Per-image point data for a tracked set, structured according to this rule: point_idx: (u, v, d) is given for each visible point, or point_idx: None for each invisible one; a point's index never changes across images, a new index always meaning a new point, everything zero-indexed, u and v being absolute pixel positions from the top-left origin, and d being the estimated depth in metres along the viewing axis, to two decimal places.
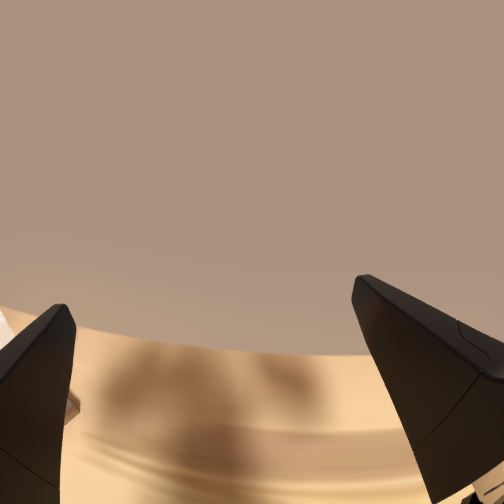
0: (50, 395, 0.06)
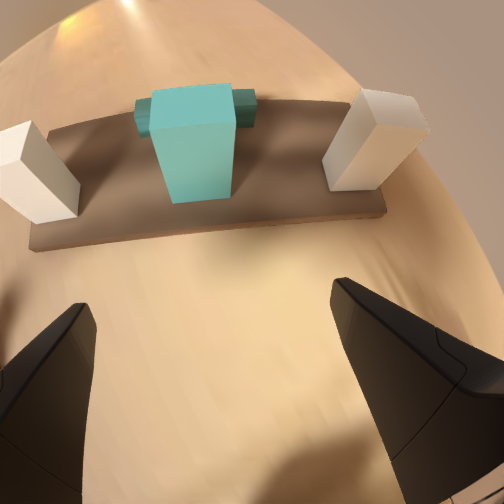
0: (73, 397, 0.06)
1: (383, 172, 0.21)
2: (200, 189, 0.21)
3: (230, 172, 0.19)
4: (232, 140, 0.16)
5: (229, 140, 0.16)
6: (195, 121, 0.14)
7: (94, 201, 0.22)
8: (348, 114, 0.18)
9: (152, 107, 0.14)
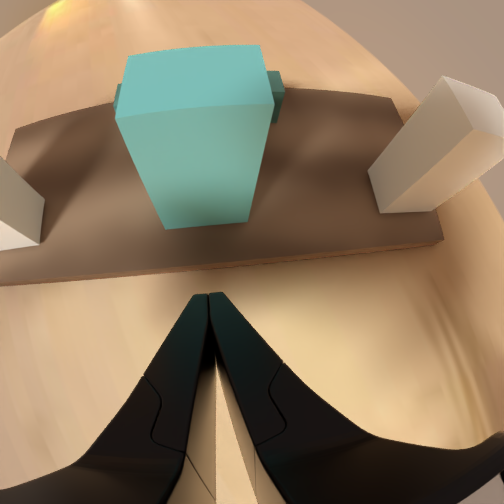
0: (211, 396, 0.06)
1: (450, 191, 0.15)
2: (204, 212, 0.14)
3: (252, 188, 0.13)
4: (262, 138, 0.09)
5: (258, 138, 0.09)
6: (199, 101, 0.07)
7: (60, 222, 0.15)
8: (418, 111, 0.12)
9: (125, 80, 0.07)
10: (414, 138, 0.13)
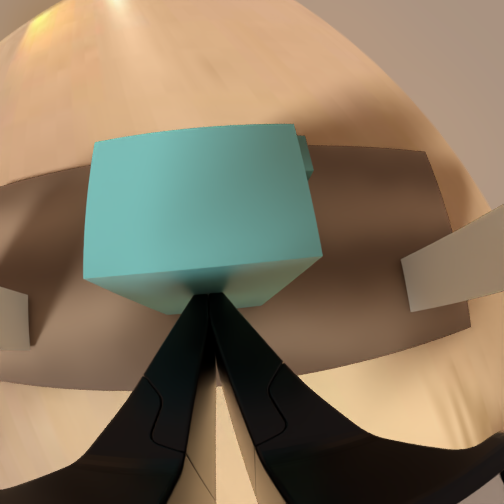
0: (211, 396, 0.06)
1: None
2: None
3: (272, 295, 0.10)
4: (295, 274, 0.07)
5: (289, 275, 0.07)
6: (207, 255, 0.05)
7: (50, 325, 0.13)
8: (480, 222, 0.09)
9: (91, 196, 0.05)
10: (468, 252, 0.10)
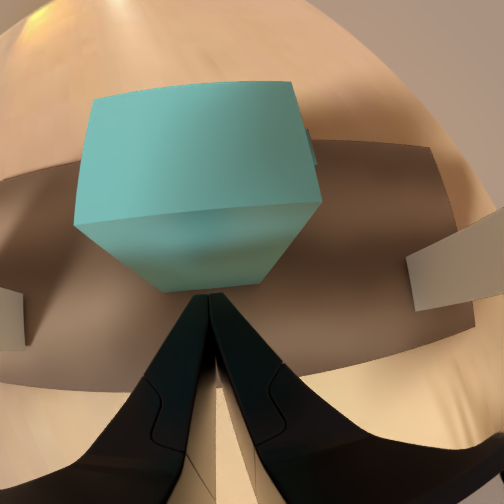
0: (211, 396, 0.06)
1: None
2: (210, 282, 0.12)
3: (270, 265, 0.10)
4: (294, 231, 0.07)
5: (289, 232, 0.07)
6: (203, 198, 0.05)
7: (45, 325, 0.12)
8: (489, 219, 0.09)
9: (87, 147, 0.05)
10: (476, 251, 0.10)
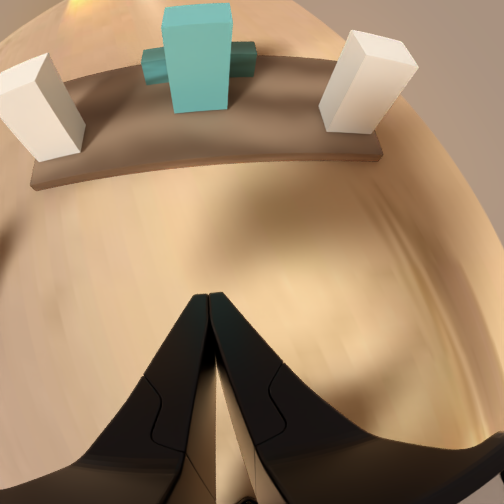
0: (211, 396, 0.06)
1: (377, 112, 0.21)
2: (200, 97, 0.21)
3: (227, 77, 0.19)
4: (229, 41, 0.16)
5: (227, 41, 0.16)
6: (199, 22, 0.14)
7: (98, 138, 0.22)
8: (341, 55, 0.18)
9: (164, 16, 0.14)
10: (340, 73, 0.19)
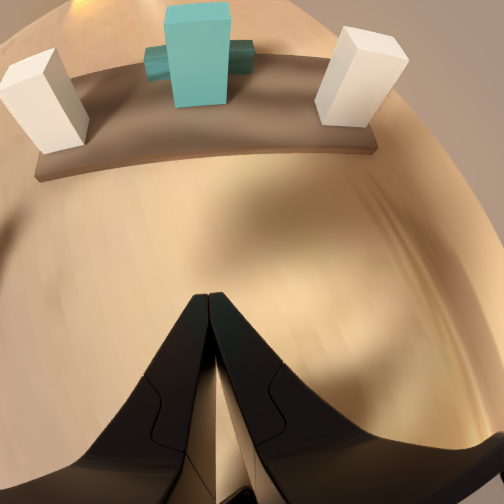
0: (211, 396, 0.06)
1: (371, 105, 0.22)
2: (200, 91, 0.22)
3: (226, 72, 0.20)
4: (228, 37, 0.17)
5: (226, 37, 0.17)
6: (199, 19, 0.15)
7: (101, 132, 0.22)
8: (335, 51, 0.19)
9: (167, 14, 0.15)
10: (334, 68, 0.20)
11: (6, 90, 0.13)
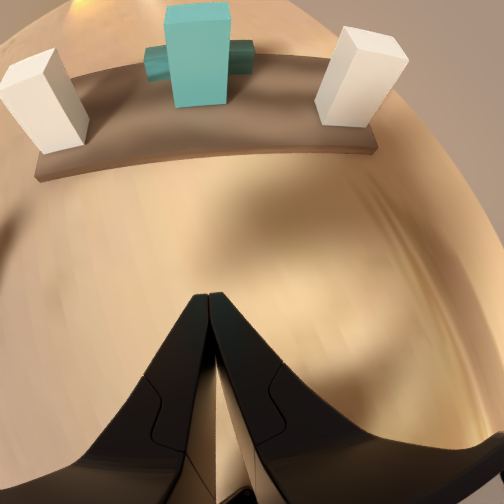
0: (211, 396, 0.06)
1: (371, 105, 0.22)
2: (200, 91, 0.22)
3: (226, 72, 0.20)
4: (228, 37, 0.17)
5: (226, 37, 0.17)
6: (199, 19, 0.15)
7: (101, 132, 0.22)
8: (335, 51, 0.19)
9: (167, 14, 0.15)
10: (334, 68, 0.20)
11: (6, 90, 0.13)
